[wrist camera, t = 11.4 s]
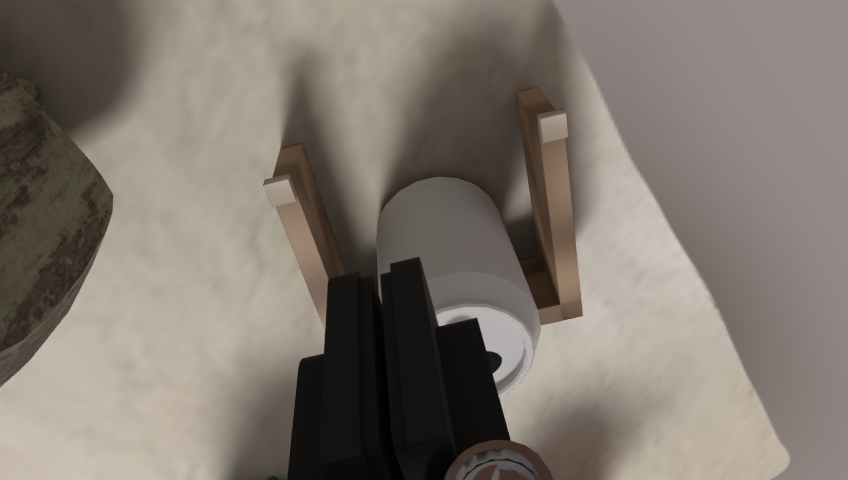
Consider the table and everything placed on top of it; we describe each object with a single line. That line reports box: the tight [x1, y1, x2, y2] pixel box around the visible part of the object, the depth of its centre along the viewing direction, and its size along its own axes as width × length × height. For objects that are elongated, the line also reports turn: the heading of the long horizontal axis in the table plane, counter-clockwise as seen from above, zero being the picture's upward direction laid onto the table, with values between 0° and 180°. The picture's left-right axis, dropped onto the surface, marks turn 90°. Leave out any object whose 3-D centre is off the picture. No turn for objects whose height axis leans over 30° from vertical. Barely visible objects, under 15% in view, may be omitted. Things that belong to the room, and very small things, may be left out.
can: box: [376, 177, 541, 398], centre depth 32 cm, size 8×8×12 cm
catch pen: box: [263, 87, 583, 329], centre depth 34 cm, size 13×14×6 cm
